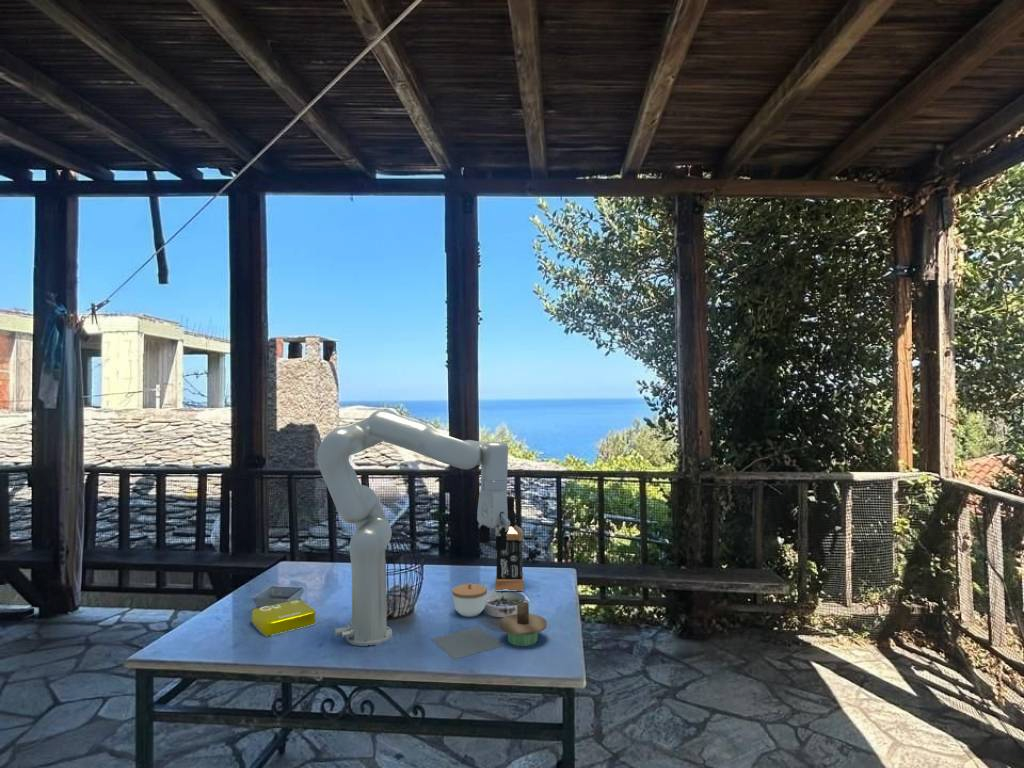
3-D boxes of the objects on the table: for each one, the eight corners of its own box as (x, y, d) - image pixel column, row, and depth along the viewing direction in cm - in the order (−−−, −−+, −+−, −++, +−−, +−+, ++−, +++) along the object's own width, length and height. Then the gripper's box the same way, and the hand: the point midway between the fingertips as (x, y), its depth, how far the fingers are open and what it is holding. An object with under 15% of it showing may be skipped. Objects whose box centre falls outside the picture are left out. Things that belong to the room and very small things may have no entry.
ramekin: (502, 637, 164) (501, 622, 164) (531, 633, 167) (531, 617, 167) (513, 650, 155) (512, 634, 155) (544, 645, 158) (544, 629, 158)
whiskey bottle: (523, 592, 202) (522, 499, 203) (495, 592, 202) (494, 499, 203) (523, 582, 212) (522, 494, 213) (496, 582, 212) (495, 494, 213)
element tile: (265, 639, 165) (265, 622, 165) (250, 623, 177) (250, 607, 177) (317, 626, 174) (317, 609, 175) (300, 612, 186) (300, 596, 186)
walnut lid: (516, 638, 152) (515, 616, 153) (490, 622, 163) (490, 601, 164) (556, 627, 159) (555, 606, 160) (529, 613, 170) (529, 593, 171)
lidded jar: (471, 623, 174) (471, 591, 174) (445, 615, 181) (445, 585, 181) (494, 612, 183) (493, 582, 183) (468, 605, 189) (468, 576, 189)
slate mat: (454, 660, 149) (454, 659, 149) (430, 640, 162) (430, 638, 162) (504, 646, 157) (504, 645, 157) (477, 628, 170) (477, 627, 170)
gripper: (468, 481, 172) (466, 540, 171) (497, 490, 157) (495, 554, 156) (490, 480, 176) (489, 538, 175) (521, 489, 161) (519, 551, 160)
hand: (492, 545), depth 166 cm, fingers open, 9 cm apart
